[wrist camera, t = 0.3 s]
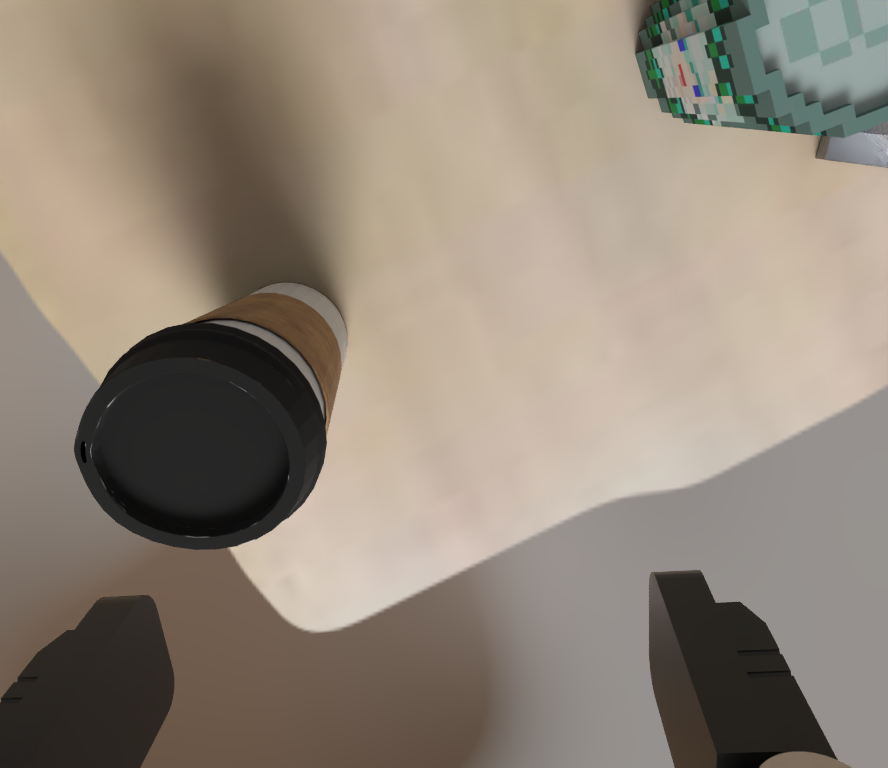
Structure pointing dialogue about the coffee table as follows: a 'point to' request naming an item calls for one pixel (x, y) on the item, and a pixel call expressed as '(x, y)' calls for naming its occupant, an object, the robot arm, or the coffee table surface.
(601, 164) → the coffee table surface
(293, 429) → the coffee cup
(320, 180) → the coffee table surface
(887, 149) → the collar holder
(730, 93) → the can
